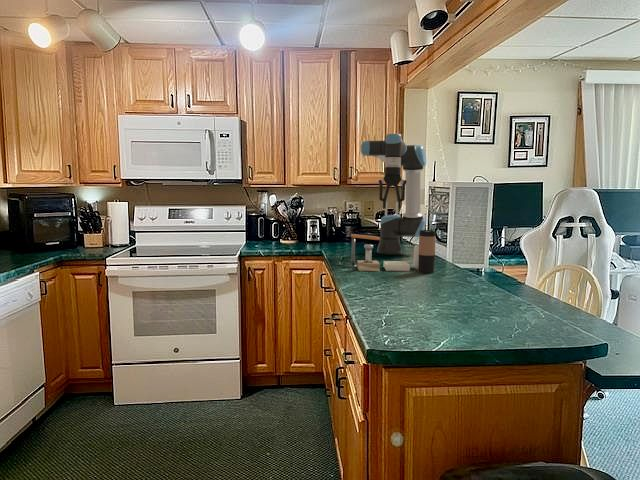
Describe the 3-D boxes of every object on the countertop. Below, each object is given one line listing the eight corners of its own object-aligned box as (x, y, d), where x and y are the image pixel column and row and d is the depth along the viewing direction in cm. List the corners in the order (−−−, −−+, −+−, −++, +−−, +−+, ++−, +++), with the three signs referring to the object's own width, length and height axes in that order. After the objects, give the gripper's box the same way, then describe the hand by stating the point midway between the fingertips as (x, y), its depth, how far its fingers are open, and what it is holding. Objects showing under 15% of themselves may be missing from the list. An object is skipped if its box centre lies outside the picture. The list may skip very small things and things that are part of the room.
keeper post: (348, 265, 243) (349, 237, 241) (356, 265, 243) (357, 237, 241) (349, 267, 239) (349, 238, 237) (357, 267, 239) (357, 238, 237)
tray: (383, 266, 241) (383, 261, 240) (405, 267, 241) (405, 261, 240) (386, 270, 229) (386, 264, 229) (409, 271, 229) (409, 265, 229)
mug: (421, 270, 232) (422, 247, 231) (409, 267, 240) (410, 245, 238) (439, 268, 238) (440, 246, 237) (427, 265, 246) (428, 244, 245)
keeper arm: (349, 237, 239) (349, 234, 239) (353, 236, 241) (353, 233, 241) (377, 240, 227) (377, 237, 227) (380, 239, 229) (380, 236, 229)
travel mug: (415, 272, 226) (417, 230, 223) (420, 270, 232) (421, 229, 230) (431, 274, 222) (433, 231, 220) (436, 271, 229) (437, 230, 226)
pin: (363, 268, 236) (363, 244, 235) (372, 268, 236) (372, 244, 235) (364, 269, 232) (364, 245, 230) (373, 269, 232) (373, 245, 230)
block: (357, 267, 239) (357, 260, 238) (377, 267, 239) (377, 260, 239) (358, 270, 229) (359, 263, 229) (379, 271, 229) (379, 263, 229)
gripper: (375, 166, 223) (374, 215, 226) (412, 166, 223) (410, 216, 226) (373, 166, 231) (372, 214, 234) (409, 167, 231) (408, 215, 234)
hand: (391, 215), depth 230 cm, fingers open, 4 cm apart
